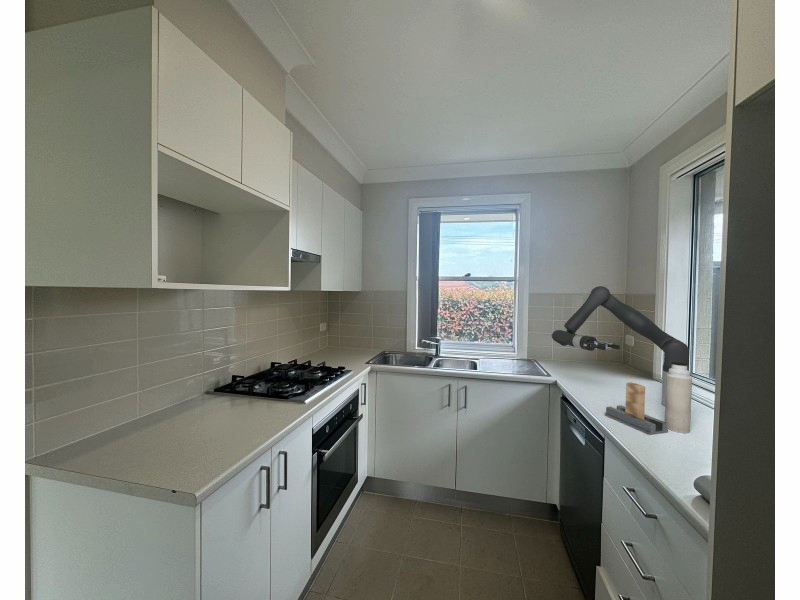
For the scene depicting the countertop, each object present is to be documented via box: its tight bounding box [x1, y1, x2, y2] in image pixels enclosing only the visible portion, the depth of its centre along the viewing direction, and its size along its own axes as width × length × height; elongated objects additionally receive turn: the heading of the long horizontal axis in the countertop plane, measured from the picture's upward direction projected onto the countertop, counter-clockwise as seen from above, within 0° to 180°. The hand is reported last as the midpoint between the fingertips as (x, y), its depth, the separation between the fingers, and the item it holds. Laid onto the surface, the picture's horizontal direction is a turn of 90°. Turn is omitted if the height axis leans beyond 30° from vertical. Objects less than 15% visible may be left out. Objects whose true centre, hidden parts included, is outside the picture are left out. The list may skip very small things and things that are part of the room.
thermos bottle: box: [664, 361, 693, 434], centre depth 130 cm, size 8×8×28 cm
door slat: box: [624, 381, 646, 420], centre depth 135 cm, size 6×3×16 cm, turn 15°
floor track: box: [604, 404, 669, 436], centre depth 135 cm, size 20×10×4 cm, turn 15°
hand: (612, 347), depth 151 cm, fingers open, 8 cm apart
